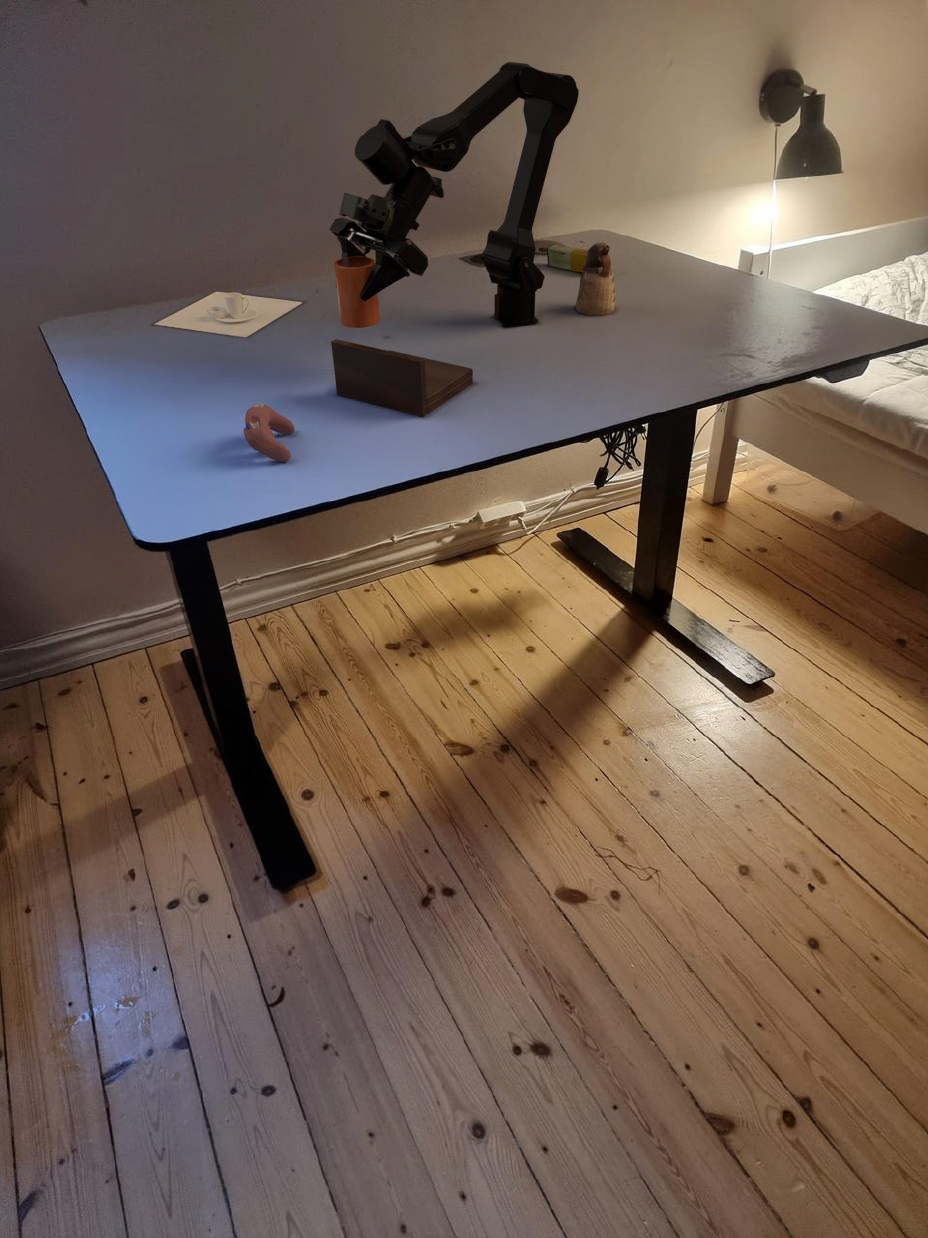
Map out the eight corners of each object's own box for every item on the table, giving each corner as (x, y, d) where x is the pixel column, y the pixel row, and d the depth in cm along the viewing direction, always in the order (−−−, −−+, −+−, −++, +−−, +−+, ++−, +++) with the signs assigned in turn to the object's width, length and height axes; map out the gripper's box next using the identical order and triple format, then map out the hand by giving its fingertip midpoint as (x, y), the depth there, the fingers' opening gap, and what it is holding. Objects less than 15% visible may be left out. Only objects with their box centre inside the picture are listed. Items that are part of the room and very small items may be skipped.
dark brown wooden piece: (390, 364, 147) (386, 312, 141) (473, 383, 140) (472, 330, 135) (336, 395, 137) (330, 341, 132) (422, 417, 130) (420, 361, 125)
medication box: (546, 266, 188) (545, 246, 186) (554, 261, 190) (553, 242, 187) (593, 275, 182) (593, 255, 179) (601, 270, 183) (601, 251, 180)
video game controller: (271, 442, 128) (242, 403, 124) (298, 427, 127) (269, 387, 123) (265, 475, 120) (233, 434, 116) (293, 460, 119) (262, 418, 115)
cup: (381, 313, 143) (376, 255, 137) (378, 327, 138) (373, 267, 132) (342, 314, 143) (336, 256, 137) (338, 328, 138) (332, 268, 132)
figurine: (604, 301, 170) (609, 235, 162) (621, 312, 164) (627, 245, 157) (570, 305, 168) (574, 239, 161) (586, 317, 163) (590, 249, 155)
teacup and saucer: (202, 321, 164) (198, 298, 162) (227, 307, 170) (223, 285, 168) (242, 326, 162) (239, 304, 159) (266, 312, 168) (263, 290, 165)
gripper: (332, 160, 135) (281, 250, 136) (407, 179, 123) (350, 277, 125) (378, 206, 144) (329, 291, 145) (452, 228, 132) (398, 320, 134)
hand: (350, 294), depth 137 cm, fingers closed on cup, 6 cm apart
